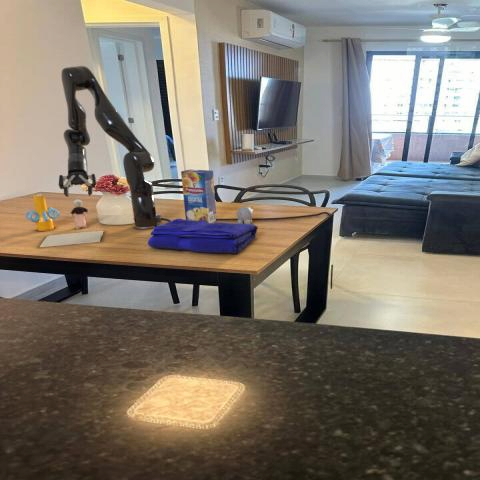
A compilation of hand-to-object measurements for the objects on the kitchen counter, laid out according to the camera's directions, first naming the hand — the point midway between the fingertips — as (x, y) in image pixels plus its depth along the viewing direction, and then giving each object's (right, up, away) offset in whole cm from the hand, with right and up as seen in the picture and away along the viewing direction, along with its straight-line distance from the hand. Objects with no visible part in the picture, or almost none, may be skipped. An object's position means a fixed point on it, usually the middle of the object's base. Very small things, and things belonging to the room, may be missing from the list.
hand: (78, 195), depth 168 cm
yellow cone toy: (-12, -15, -3) cm, 20 cm away
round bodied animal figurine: (+72, -12, +13) cm, 74 cm away
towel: (+61, -21, -15) cm, 67 cm away
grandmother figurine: (+1, -14, +1) cm, 14 cm away
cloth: (+7, -19, -14) cm, 25 cm away
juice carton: (+50, -11, +13) cm, 53 cm away
